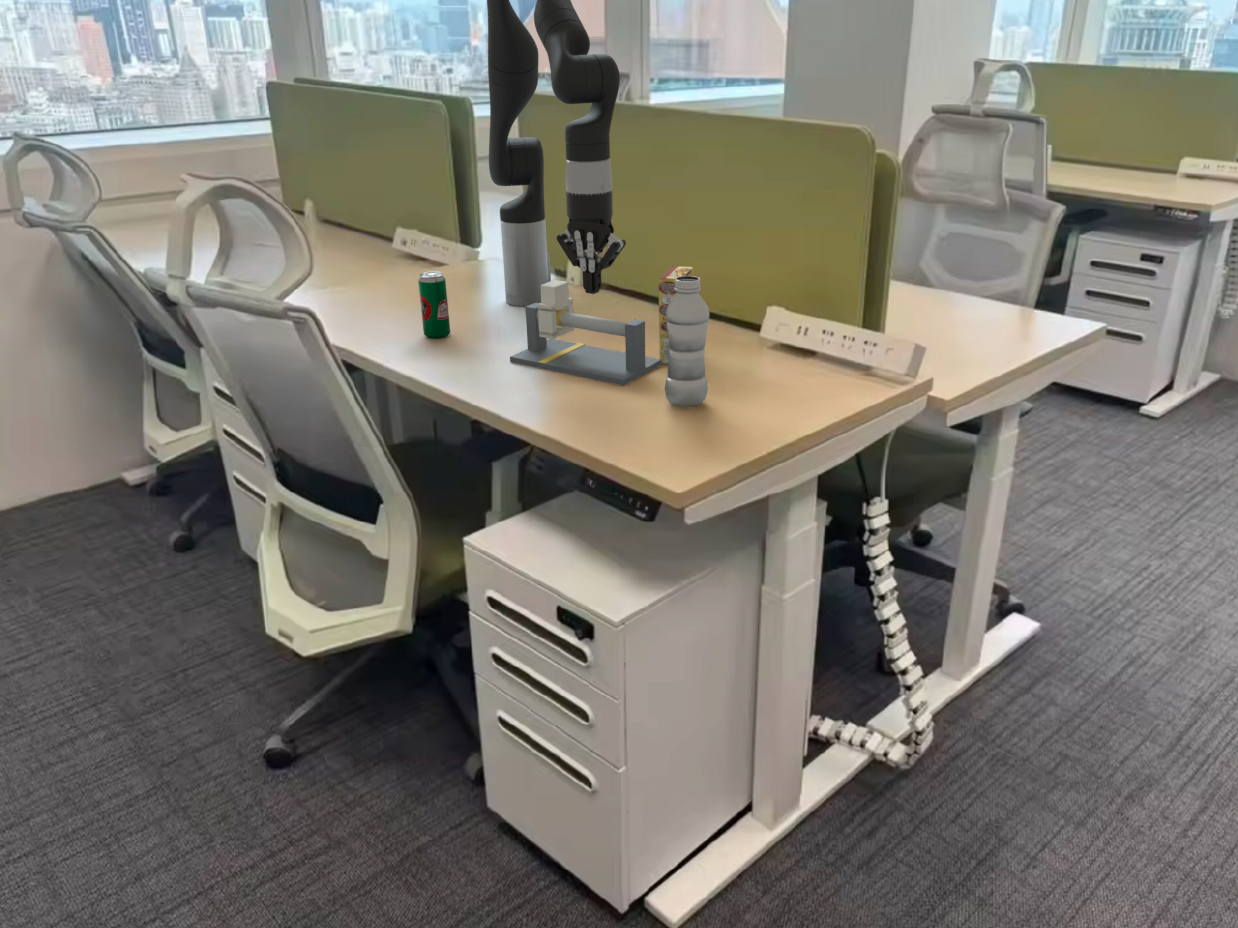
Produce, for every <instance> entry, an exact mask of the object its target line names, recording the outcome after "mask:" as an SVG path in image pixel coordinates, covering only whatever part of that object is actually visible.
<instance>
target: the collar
mask: <svg viewBox="0 0 1238 928" xmlns="http://www.w3.org/2000/svg"><path fill="white" fill-rule="evenodd" d="M540 287H541V303H539V304H538V322H539V337H544V338H546V339H557V338H559V337H561V336H563V335H566V334H568V333H570V332H573V331H574V330H575V328H574V327H568V326H564V327H562V326H557V323H556V310H564V311H567V312H569V313H574V303H573V302H574V300H573V299H574V298H573V297H570V294H569V293H570V292H569V291H570V289H569V281H565V280H564V281H563V280H557V279H554V280H551V281H550V282H548V283H545V284H542V285H540Z"/></svg>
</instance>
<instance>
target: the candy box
mask: <svg viewBox="0 0 1238 928" xmlns="http://www.w3.org/2000/svg"><path fill="white" fill-rule="evenodd" d="M680 276H694V267H693V266H677V265H674V266H673V265H672V266H671V267H669V269H667V271H665V272H664V273H663V274H662V275H661V276H660V277H658V279H657V280H658V282H657V283H658V286H657V287H658V332H659V334H658V335H659V337H658V338H659V340H658V341H659V359H662V364H665V365H669V349H670V347H669V336H668V328H667V320H666V311H667V308H668V306H669V304H670V303H671V301H672V300H673V298H674V297H675V296H676V293H677V292H675V291H674V287H675V278H677V277H680Z"/></svg>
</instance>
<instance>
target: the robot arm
mask: <svg viewBox="0 0 1238 928" xmlns="http://www.w3.org/2000/svg"><path fill="white" fill-rule="evenodd" d="M486 5H487V6H486V7H487V74H488V75H487V76H488V91H489V94H488V95H489V111H490V112H489V113H490V114H489V119H490V120H489V139H488V140H489V142H488V167H489V169H488V170H489V175H490V179H491V181H492V182H493V183H494V185H497V186H499V187H515V186H517V187H518V186H520V187H521V186H527V187H526V190H525V191H524V192H522V194H521V195H519V196H518V197H516V198H514V199H512V200H510V201H507V202H504V203H503V204H502V205H501V206H500V207H499V219H500V220H499V221H500V231H501V232H500V235H501V247H502V248H501V249H502V250H501V251H502V261H503V262H502V263H503V276H504V292H505V302H506V303H507V304H509V305H512V306H516V307H517V306H518V307H526V306H528V305H531V304H533V303H541V287H540V285H542V284H545V283H548V282H550V281H552V277H551V276H552V275H551V256H550V255H551V254H550V253H549V252H548V247H547V246H548V245H547V230H546V210H545V189H544V188H545V187H544V186H545V182H544V181H545V180H544V179H545V177H544V175H545V163H544V162H545V161H544V160H545V159H544V148H543V146H542V142H541V141H540V139H539V138H538V137H535V136H526V137H524V136H523V137H522V136H521V137H509V135H510V132H511V130H512V126H513V124H514V123H515V121H516V120H517V118H518V117H519V116H520V114H521V113H522V111H523V110H524V109H525V107H526V106H527V105H528V104H529V102H530V101H531V99H532V97H533V95H534V94H535V92H536V90H537V87H538V81H539V59H540V58H539V49H538V45H537V44H536V41H535V39H534V38H533V35H532V34H531V33H530V31H529V30H528V29H527V27H526V26H525V24H524V23H523V22H522V20H521V19H520V17H519V16H518V14H517V13H516V11H515V9H514V8H513V5H512V4H511V2H510V0H486ZM533 11H534V12H533V22H534V28H535V29H536V33H537V36H538V37H539V40H540V42H541V44H542V46H543V47H544V50H545V52H546V53H547V54H546V55H547V58H548V62H549V69H550V79H551V80H550V81H551V88H552V91H553V93H554V95H555V97H556V98H557V99H558V100H559V101H560V102H562V103H564V104H565V105H581V104H591V105H590V108H589V110H588V112H587V113H586V115H584V116H582V117H580V118H577V119H573V120H570V121H569V122H568V123H567V124H566V126H565V131H564V132H565V133H564V134H565V136H564V140H565V158H566V159H565V162H566V163H565V164H566V165H565V172H564V173H565V176H564V177H565V199H566V202H565V204H566V216H567V218H568V223H567V225H566V230H565V231H564V232H562V233H561V234H558V235H556V241H557V242H558V244H559V245H560V247H561V249H562V250H563V252H564V254H565V255H566V257H567V259H568V260H569V262H570V263H571V265H572V266H573V267H578V268H579V269H580V271H582V286H583V287H582V288H583V289H584V291H585V293H586V294H591V295H595V294H597V293H600V290H601V289H602V271H603V270H605V269H608V268H610V267H611V266H612V265H613V263H615V261H616V259H617V258H618V256H619V255H620V254H621V252H622V251H623V249H624V248H625V246H626V245H627V242H626V240H625V239H623V238H621V239H620V238H619V237H618V236H617V235H616V234H615V229H614V226H613V223H612V218H613V215H614V213H613V212H614V210H613V207H614V205H613V204H614V203H613V172H612V170H613V169H612V165H611V164H612V163H611V146H610V141H611V140H610V138H611V137H610V133H611V125H612V122H613V115H614V110H615V106H616V103H617V99H618V95H619V94H618V93H619V89H620V84H621V81H620V80H621V75H620V71H619V70H620V69H619V68H618V64H617V62H616V61H615V59H614V58H613V57H612V56H610V55H609V54H606V53H592V54H589V52H590V48H591V40H590V37H589V35H588V31H587V30H586V29H585V26H584V24H583V22H582V21H581V19H580V17H579V14H578V13H577V11H576V10H575V8H574V5H573V2H572V0H536V3H535V6H534V10H533ZM606 246H607V250H606Z"/></svg>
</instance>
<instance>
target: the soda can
mask: <svg viewBox="0 0 1238 928" xmlns="http://www.w3.org/2000/svg"><path fill="white" fill-rule="evenodd" d="M417 280H418V281H417V282H418V293H419V303H420V311H421V319H422V322H421V323H422V328H423V329H422V330H423V335H424V337H426V338H427V339H431V340H440V339H445V338H447V337H448V336H450V335H451V324H450V323H451V322H450V314H449V302H448V292H447V282H446V278H445V277H444V273H443V272H441V271H434V270H433V271H425V272H422V273H420V274H419V278H418V279H417Z"/></svg>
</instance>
